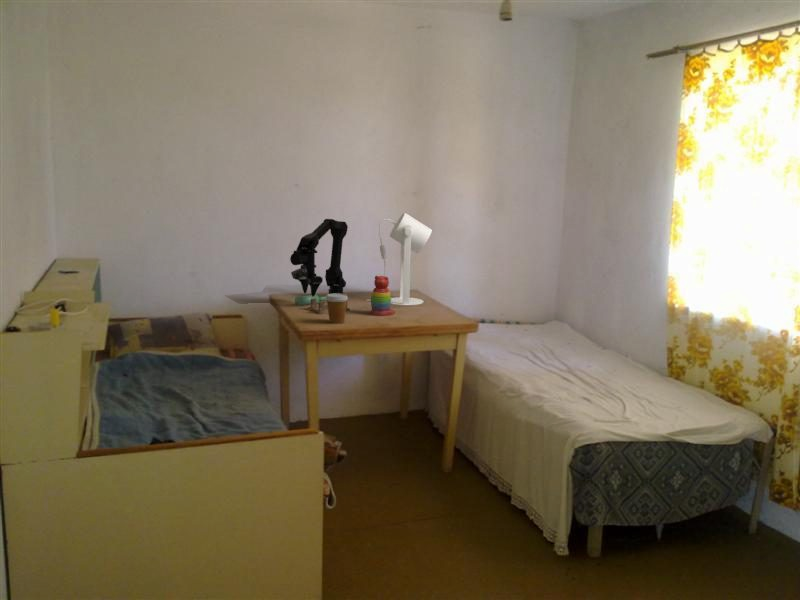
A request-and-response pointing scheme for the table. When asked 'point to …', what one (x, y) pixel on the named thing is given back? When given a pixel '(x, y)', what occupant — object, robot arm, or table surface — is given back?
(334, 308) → the disposable coffee cup
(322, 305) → the cradle
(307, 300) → the bottle
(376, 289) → the stacking bear
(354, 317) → the table surface
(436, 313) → the table surface
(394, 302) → the desk lamp
